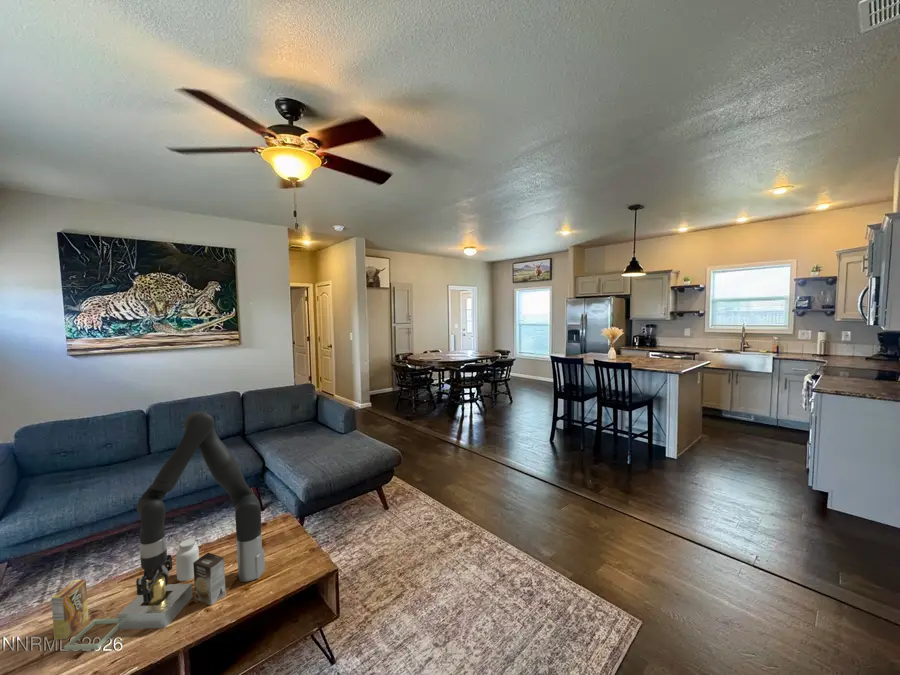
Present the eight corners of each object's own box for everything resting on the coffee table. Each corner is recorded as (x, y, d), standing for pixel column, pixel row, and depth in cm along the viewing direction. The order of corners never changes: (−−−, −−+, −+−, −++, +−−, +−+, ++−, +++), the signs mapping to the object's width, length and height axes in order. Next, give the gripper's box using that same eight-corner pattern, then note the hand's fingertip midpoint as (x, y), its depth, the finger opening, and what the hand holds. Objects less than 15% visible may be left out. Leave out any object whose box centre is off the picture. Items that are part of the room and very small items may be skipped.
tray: (126, 623, 133) (126, 618, 133) (98, 651, 122) (97, 645, 122) (95, 624, 133) (94, 619, 133) (64, 652, 122) (63, 646, 122)
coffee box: (194, 602, 143) (191, 562, 142) (209, 590, 149) (207, 552, 148) (211, 607, 140) (209, 567, 139) (226, 595, 146) (224, 556, 145)
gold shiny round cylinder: (170, 606, 139) (168, 574, 139) (159, 617, 134) (157, 584, 133) (155, 606, 139) (153, 574, 138) (144, 618, 134) (142, 585, 133)
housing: (192, 599, 144) (191, 583, 144) (166, 630, 130) (165, 612, 130) (150, 600, 144) (149, 584, 143) (119, 631, 130) (118, 614, 129)
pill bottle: (204, 570, 160) (202, 537, 159) (189, 584, 152) (187, 549, 151) (187, 569, 161) (185, 536, 160) (172, 582, 153) (169, 548, 152)
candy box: (77, 619, 135) (73, 579, 134) (89, 618, 136) (86, 578, 135) (53, 640, 126) (49, 598, 125) (67, 639, 127) (63, 597, 126)
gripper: (148, 563, 128) (151, 608, 129) (177, 538, 142) (180, 578, 143) (126, 564, 128) (129, 609, 129) (157, 539, 142) (160, 579, 143)
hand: (156, 593), depth 136 cm, fingers open, 7 cm apart
